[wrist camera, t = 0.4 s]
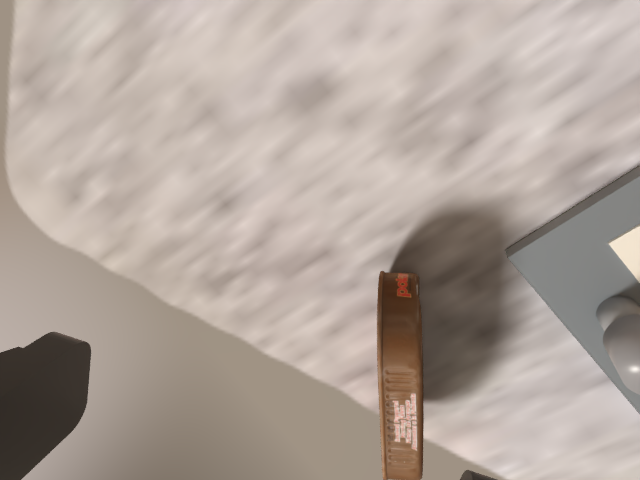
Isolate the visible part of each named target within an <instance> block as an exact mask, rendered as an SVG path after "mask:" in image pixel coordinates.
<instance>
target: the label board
mask: <svg viewBox="0 0 640 480" xmlns="http://www.w3.org/2000/svg"><path fill="white" fill-rule="evenodd" d="M505 251H506V254H507V258H508V259H509V260H510V261H511V262H512V264H513V265H514V266H515V267H516V268H517V270H518V271H519V272H520V273H521V274H522V275H523V277H524V278H525V279H526V280H527V281H528V283H529V284H530V285H531V286H532V287H533V288H534V290H535V291H536V292H537V293H538V294H539V296H540V297H541V298H542V299H543V300H544V301H545V303H546V304H547V305H548V306H549V307H550V309H551V310H552V311H553V312H554V313H555V314H556V316H557V317H558V318H559V319H560V320H561V322H562V323H563V324H564V325H565V326H566V328H567V329H568V330H569V331H570V332H571V333H572V335H573V336H574V337H575V338H576V339H577V341H578V342H579V343H580V344H581V345H582V346H583V348H584V349H585V350H586V351H587V352H588V354H589V355H590V356H591V357H592V358H593V359H594V361H595V362H596V363H597V364H598V365H599V367H600V368H601V369H602V370H603V371H604V372H605V374H606V375H607V376H608V377H609V378H610V380H611V381H612V382H613V383H614V384H615V385H616V387H617V388H618V389H619V390H620V391H621V393H622V394H623V395H624V396H625V397H626V398H627V400H628V401H629V402H630V403H631V404H632V406H633V407H634V408H635V409H636V410H637V411H638V413H639V414H640V395H639V394H637V393H634V392H633V391H631V390H630V389H628V388H627V387H626V386H625V385H624V383H623V382H622V380H621V378H620V376H619V374H618V372H617V370H616V368H615V366H614V364H613V362H612V360H611V358H610V357H609V355H608V353H607V351H606V349H605V347H604V344H603V335H604V332H605V330H606V328H607V327H608V326H609V325H610V324H611V323H612V322H614V321H615V320H617V319H619V318H621V317H624V316H628V315H634V314H640V166H638V167H637V168H635V169H633V170H632V171H630V172H629V173H627V174H625V175H624V176H622V177H621V178H619V179H618V180H616V181H614V182H613V183H611V184H610V185H608V186H606V187H605V188H603V189H602V190H600V191H598V192H597V193H595V194H594V195H592V196H590V197H589V198H587V199H586V200H584V201H582V202H581V203H579V204H578V205H576V206H575V207H573V208H571V209H570V210H568V211H567V212H565V213H563V214H562V215H560V216H559V217H557V218H555V219H554V220H552V221H551V222H549V223H547V224H546V225H544V226H543V227H541V228H539V229H538V230H536V231H535V232H533V233H532V234H530V235H528V236H527V237H525V238H524V239H522V240H520V241H519V242H517V243H516V244H514V245H512V246H511V247H509V248H508V249H506V250H505Z"/></svg>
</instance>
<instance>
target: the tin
mask: <svg viewBox="0 0 640 480" xmlns="http://www.w3.org/2000/svg"><path fill="white" fill-rule="evenodd" d="M377 362H378V365H377V366H378V389H379V410H380V432H381V456H382V474H383V479H384V480H388V479H393V480H420V479H421V478H422V471H423V353H422V321H421V306H420V301H419V277H418V275H417V274H414V273H385V272H384V271H381V272H380V275H379V285H378V304H377Z"/></svg>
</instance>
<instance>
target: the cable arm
mask: <svg viewBox="0 0 640 480" xmlns="http://www.w3.org/2000/svg"><path fill="white" fill-rule="evenodd" d="M603 344H604V347H605V349H606V351H607V353H608V355H609V357H610V358H611V360H612V362H613V364H614V366H615V368H616V370H617V372H618V374H619V376H620V378H621V380H622V382H623V383H624V385H625V386H626V387H627V388H628V389H630V390H631V391H633V392H634V393H637V394H639V395H640V314H634V315H628V316H624V317H621V318H619V319H617V320H615V321H614V322H612V323H611V324H610V325H609V326H608V327H607V328H606V330H605V332H604V335H603Z"/></svg>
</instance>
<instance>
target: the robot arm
mask: <svg viewBox="0 0 640 480" xmlns="http://www.w3.org/2000/svg"><path fill="white" fill-rule="evenodd" d="M90 357H91V348H90V345H89V344H88V343H87V342H85V341H81V340H78V339H75V338H72V337H69V336H66V335H63V334H60V333H57V332H50V333H48V334H46V335H44V336H42V337H41V338H39V339H38V340H36V341H34V342H33V343H31V344H30V345H28V346H26V347H25V348H20V347H17V348H13V349H10V350H7V351H4V352H1V353H0V480H21V479H22V478H23V477H24V476H25V475H26V474H27V473H29V472H30V471H31V470H32V469H33V468H34V467H35V466H36V465H37V464H38V463H39V462H40V461H41V460H42V459H43V458H44V457H45V456H47V454H49V453H50V451H52V450H53V449H54V448H55V447H56V446H57V445H58V444H59V443H60V442H61V441H62V440H63V439H64V438H66V437H67V436H68V435H69V434H70V433H71V432H72V431H73V429H74V428H75V427H76V426H77V424H78V423H79V421H80V419H81V417H82V415H83V413H84V410H85V408H86V404H87V395H88V384H89V371H90V359H91V358H90ZM460 480H497V479H494V478H490V477H488V476H485V475H481V474H479V473H475V472H473V471H469V470H466V471H465V472H464V473H463V475H462V477H461V479H460Z"/></svg>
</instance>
